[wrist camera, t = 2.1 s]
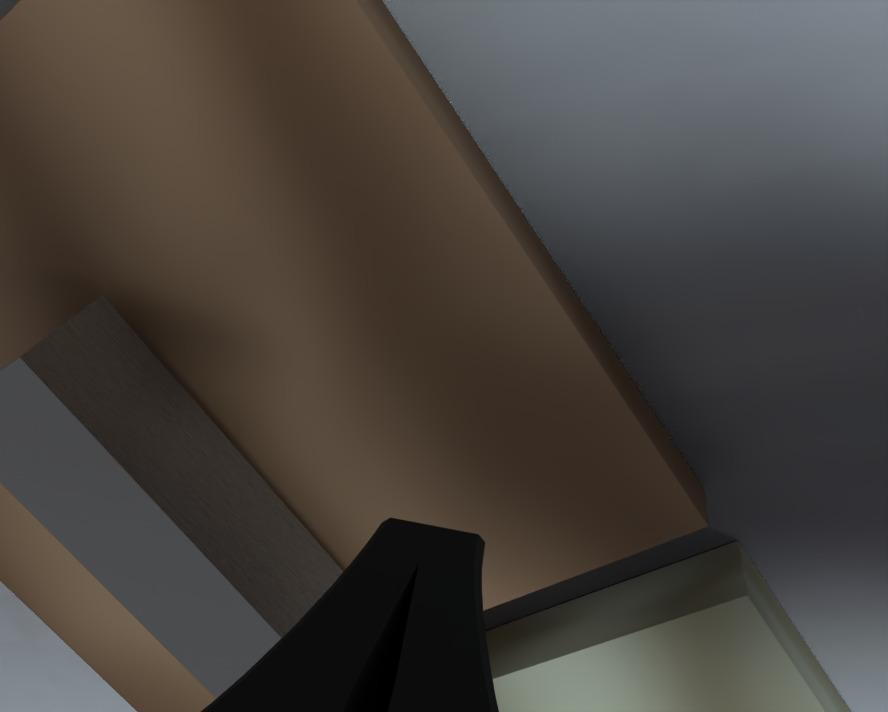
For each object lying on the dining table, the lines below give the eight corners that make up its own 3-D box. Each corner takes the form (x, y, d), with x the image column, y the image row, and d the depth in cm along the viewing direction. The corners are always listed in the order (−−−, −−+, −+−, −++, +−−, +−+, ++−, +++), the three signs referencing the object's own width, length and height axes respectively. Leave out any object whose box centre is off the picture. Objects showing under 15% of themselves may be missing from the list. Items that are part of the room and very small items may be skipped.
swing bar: (536, 772, 19) (519, 925, 16) (425, 801, 21) (392, 947, 18) (117, 284, 15) (-4, 374, 12) (12, 361, 16) (-117, 457, 14)
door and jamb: (251, -197, 13) (116, -230, 9) (960, 877, 21) (1022, 1063, 18) (-233, 290, 19) (-414, 371, 16) (448, 961, 28) (423, 1107, 24)
